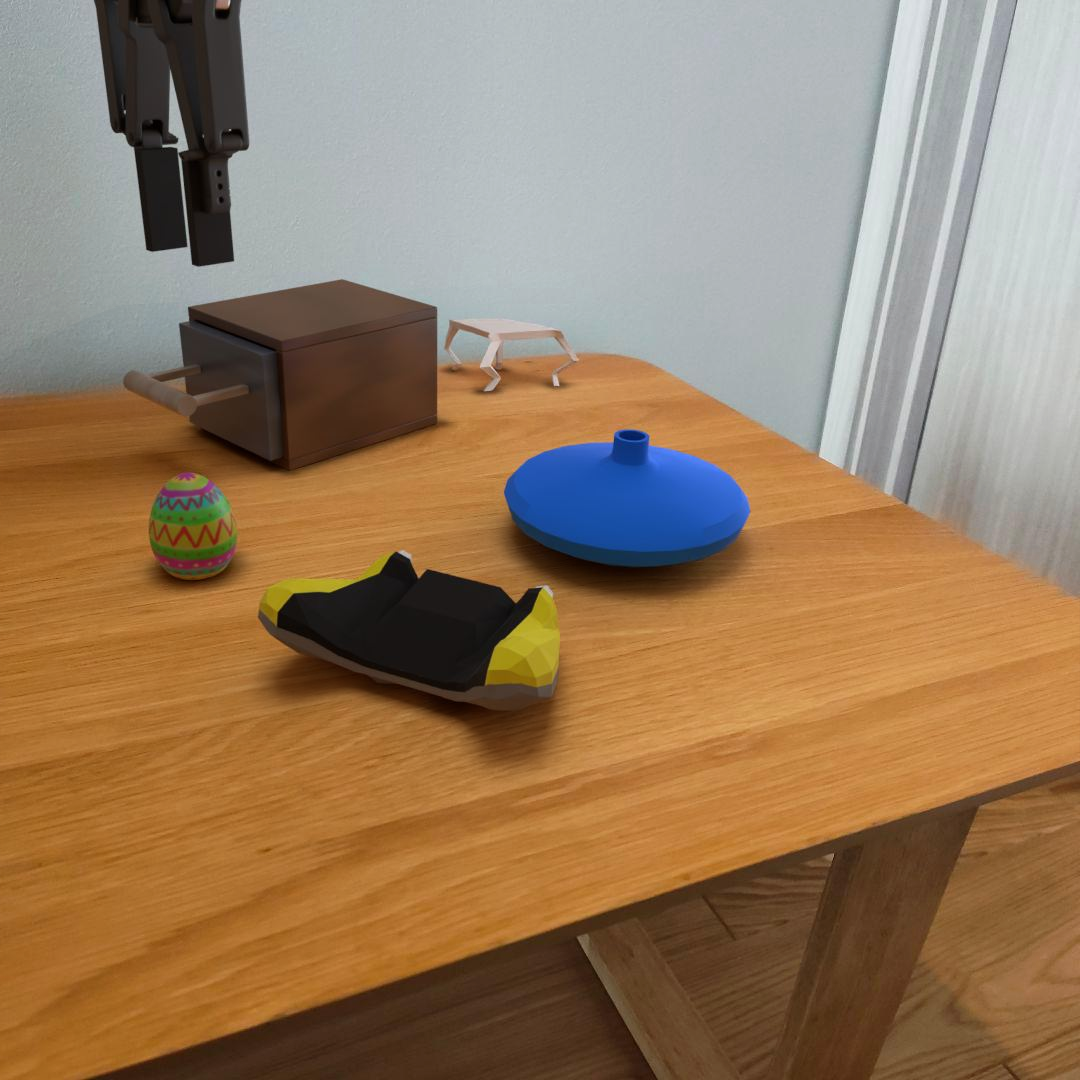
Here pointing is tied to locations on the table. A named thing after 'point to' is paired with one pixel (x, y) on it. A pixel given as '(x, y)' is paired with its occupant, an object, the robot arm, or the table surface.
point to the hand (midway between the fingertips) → (189, 254)
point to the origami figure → (500, 332)
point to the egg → (192, 528)
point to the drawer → (222, 388)
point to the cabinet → (339, 363)
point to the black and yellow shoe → (424, 632)
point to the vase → (626, 503)
